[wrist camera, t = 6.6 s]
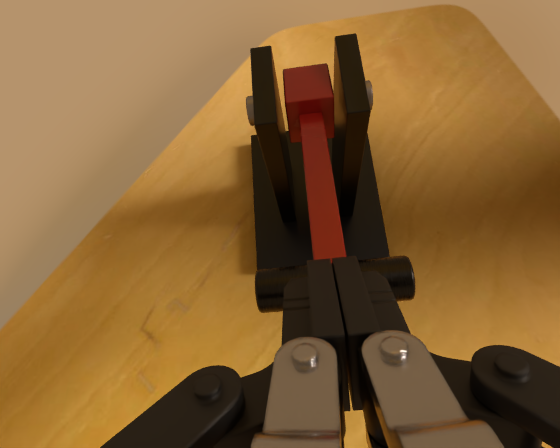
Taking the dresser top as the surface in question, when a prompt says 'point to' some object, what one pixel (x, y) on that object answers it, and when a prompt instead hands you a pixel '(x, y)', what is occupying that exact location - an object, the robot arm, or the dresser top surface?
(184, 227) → the dresser top surface
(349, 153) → the switch bracket
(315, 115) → the switch lever
